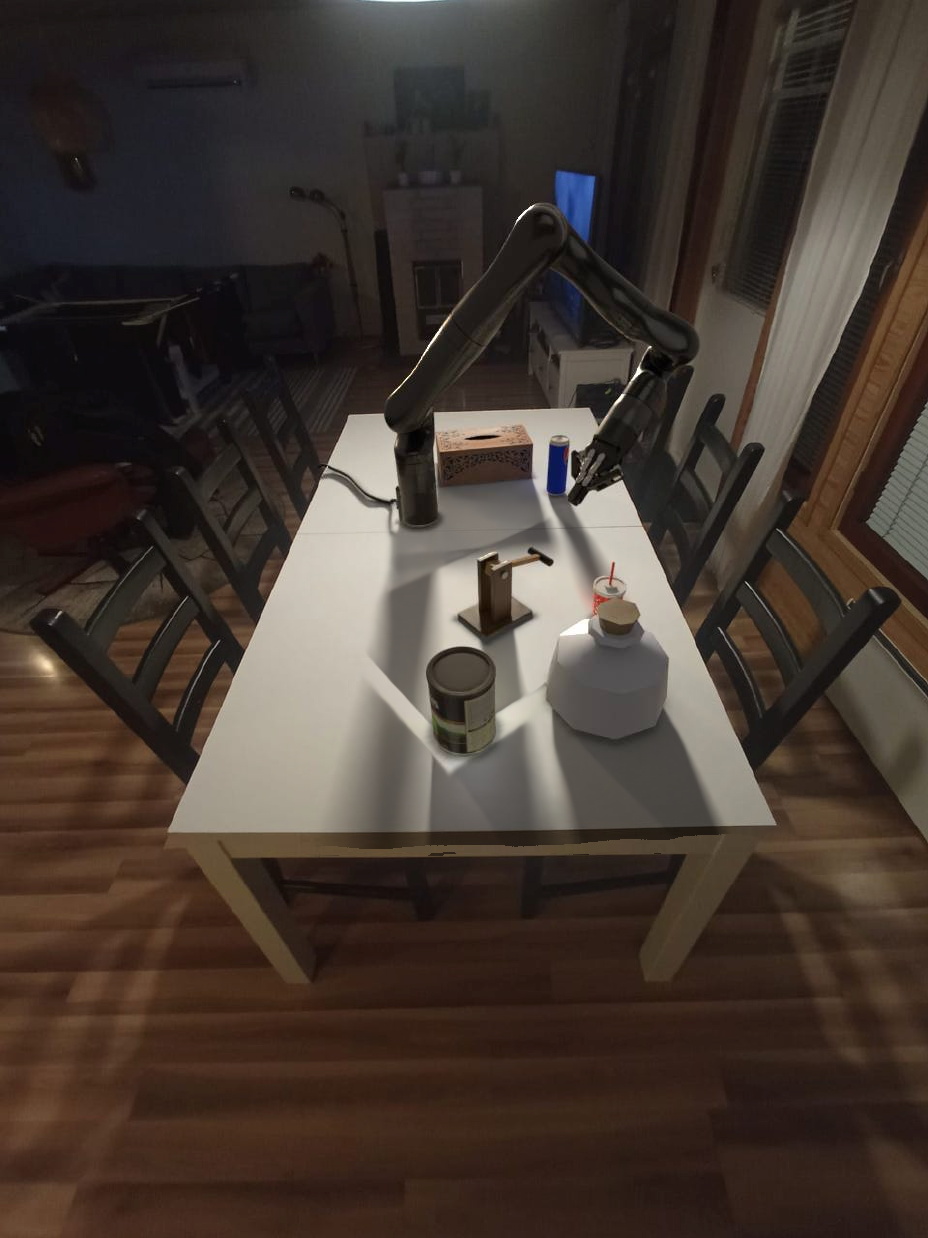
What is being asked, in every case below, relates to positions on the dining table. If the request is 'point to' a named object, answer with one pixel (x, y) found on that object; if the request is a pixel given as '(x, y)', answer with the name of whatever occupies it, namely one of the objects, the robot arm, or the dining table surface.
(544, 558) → the wooden lever handle
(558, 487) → the beverage can
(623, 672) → the bottle
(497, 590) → the lever base
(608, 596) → the beverage cup
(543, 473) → the dining table surface
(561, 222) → the robot arm
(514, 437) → the tissue box cover
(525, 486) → the dining table surface
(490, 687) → the coffee can
